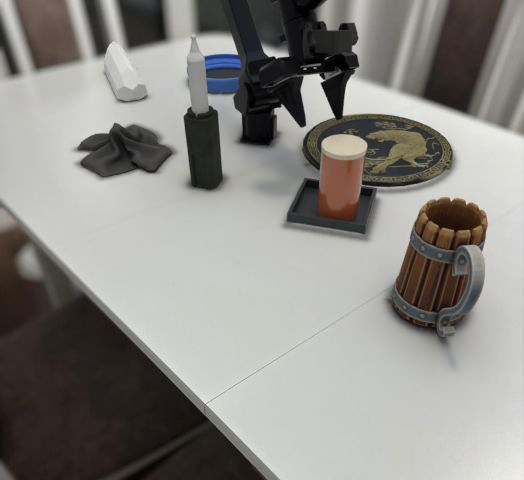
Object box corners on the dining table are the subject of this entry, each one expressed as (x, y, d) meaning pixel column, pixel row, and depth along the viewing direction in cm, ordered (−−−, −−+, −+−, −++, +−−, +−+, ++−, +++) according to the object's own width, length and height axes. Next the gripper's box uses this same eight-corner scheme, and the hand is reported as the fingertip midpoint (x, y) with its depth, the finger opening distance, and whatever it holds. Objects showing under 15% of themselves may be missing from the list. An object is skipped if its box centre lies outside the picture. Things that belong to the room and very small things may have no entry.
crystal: (92, 55, 137) (107, 88, 121) (113, 36, 136) (131, 68, 120) (112, 79, 142) (129, 114, 127) (132, 61, 141) (152, 95, 126)
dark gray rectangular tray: (286, 226, 90) (287, 213, 88) (304, 189, 98) (304, 177, 96) (363, 238, 87) (365, 225, 85) (375, 200, 95) (377, 187, 93)
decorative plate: (291, 174, 98) (313, 107, 118) (291, 183, 99) (312, 115, 119) (457, 190, 94) (450, 118, 114) (454, 200, 95) (448, 127, 115)
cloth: (179, 168, 104) (175, 138, 99) (82, 184, 100) (73, 153, 96) (159, 121, 118) (155, 93, 114) (74, 133, 115) (66, 104, 110)
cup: (312, 219, 89) (317, 152, 81) (321, 198, 94) (326, 131, 85) (354, 226, 88) (363, 158, 79) (361, 204, 93) (370, 137, 84)
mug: (382, 283, 79) (400, 193, 68) (451, 278, 80) (480, 189, 69) (411, 360, 69) (438, 269, 58) (490, 354, 69) (531, 263, 58)
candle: (224, 177, 101) (214, 30, 83) (214, 190, 98) (201, 40, 80) (200, 172, 103) (185, 27, 84) (189, 185, 99) (171, 37, 81)
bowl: (258, 94, 128) (258, 79, 125) (184, 94, 128) (182, 79, 126) (259, 67, 140) (259, 52, 138) (191, 67, 141) (190, 53, 138)
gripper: (293, -1, 73) (319, 116, 78) (374, -1, 84) (393, 102, 88) (244, 32, 82) (270, 136, 86) (324, 28, 93) (343, 121, 97)
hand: (322, 123), depth 89 cm, fingers open, 9 cm apart
